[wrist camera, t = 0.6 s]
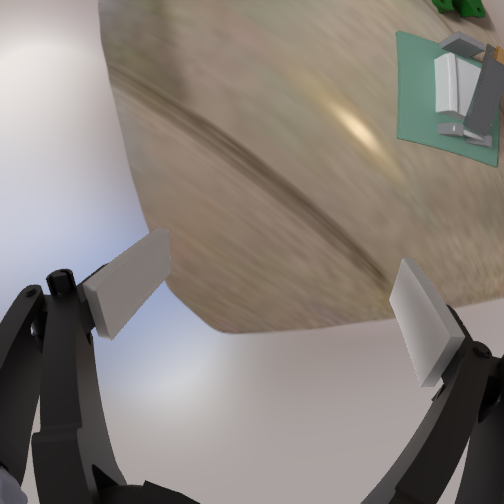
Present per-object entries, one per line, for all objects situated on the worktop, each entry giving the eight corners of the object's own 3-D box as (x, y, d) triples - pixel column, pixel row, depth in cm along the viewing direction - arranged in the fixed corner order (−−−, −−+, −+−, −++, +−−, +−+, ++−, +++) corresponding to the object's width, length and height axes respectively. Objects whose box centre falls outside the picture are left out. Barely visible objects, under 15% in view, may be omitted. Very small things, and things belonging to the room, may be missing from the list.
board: (395, 30, 26) (411, 13, 19) (492, 69, 23) (516, 64, 16) (396, 138, 33) (415, 138, 26) (492, 166, 30) (518, 173, 23)
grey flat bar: (487, 40, 13) (494, 44, 12) (509, 53, 12) (516, 58, 12) (462, 123, 24) (467, 130, 24) (483, 131, 24) (487, 138, 23)
